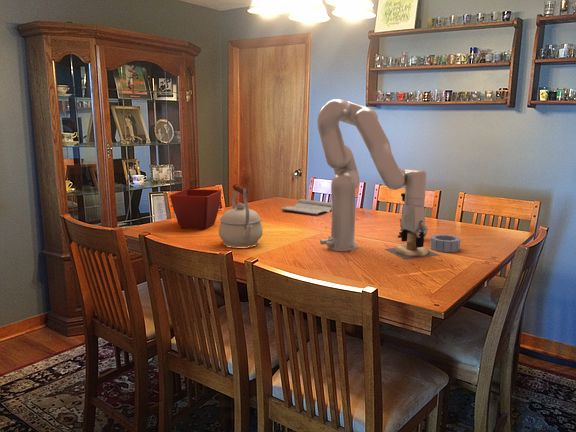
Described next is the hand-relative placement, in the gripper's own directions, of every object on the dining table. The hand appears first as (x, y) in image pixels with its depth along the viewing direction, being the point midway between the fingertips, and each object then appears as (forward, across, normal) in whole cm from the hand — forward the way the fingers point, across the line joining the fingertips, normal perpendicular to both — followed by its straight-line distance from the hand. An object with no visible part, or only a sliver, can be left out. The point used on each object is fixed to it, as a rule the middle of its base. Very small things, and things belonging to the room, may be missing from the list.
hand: (412, 244), depth 196 cm
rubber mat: (+4, 0, 0) cm, 4 cm away
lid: (+3, 0, 0) cm, 3 cm away
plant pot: (+4, -76, -71) cm, 104 cm away
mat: (+5, -94, -4) cm, 94 cm away
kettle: (+4, -35, -60) cm, 70 cm away
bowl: (+4, 0, +16) cm, 16 cm away
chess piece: (+4, -20, +13) cm, 24 cm away
